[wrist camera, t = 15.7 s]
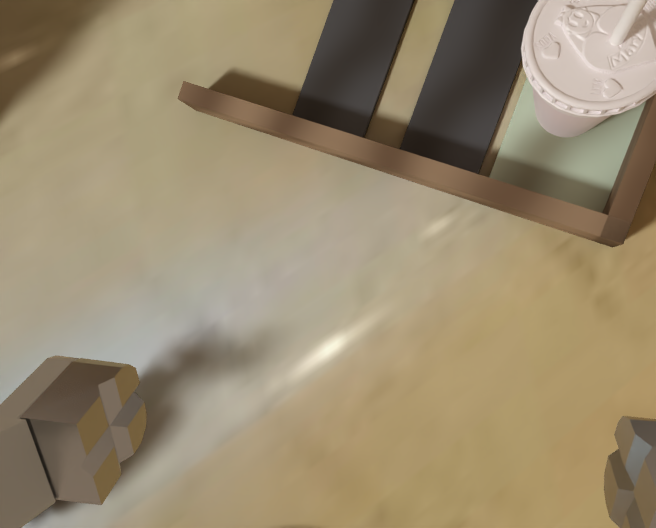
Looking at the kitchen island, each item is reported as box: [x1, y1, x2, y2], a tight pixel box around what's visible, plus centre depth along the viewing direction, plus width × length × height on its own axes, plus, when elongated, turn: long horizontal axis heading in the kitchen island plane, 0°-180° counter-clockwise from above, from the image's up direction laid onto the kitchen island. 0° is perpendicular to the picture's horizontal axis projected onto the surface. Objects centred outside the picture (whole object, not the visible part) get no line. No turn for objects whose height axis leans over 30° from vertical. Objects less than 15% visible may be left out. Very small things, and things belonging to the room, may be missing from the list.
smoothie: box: [521, 0, 656, 137], centre depth 27 cm, size 6×6×14 cm
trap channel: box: [178, 0, 656, 247], centre depth 35 cm, size 28×14×2 cm, turn 69°
